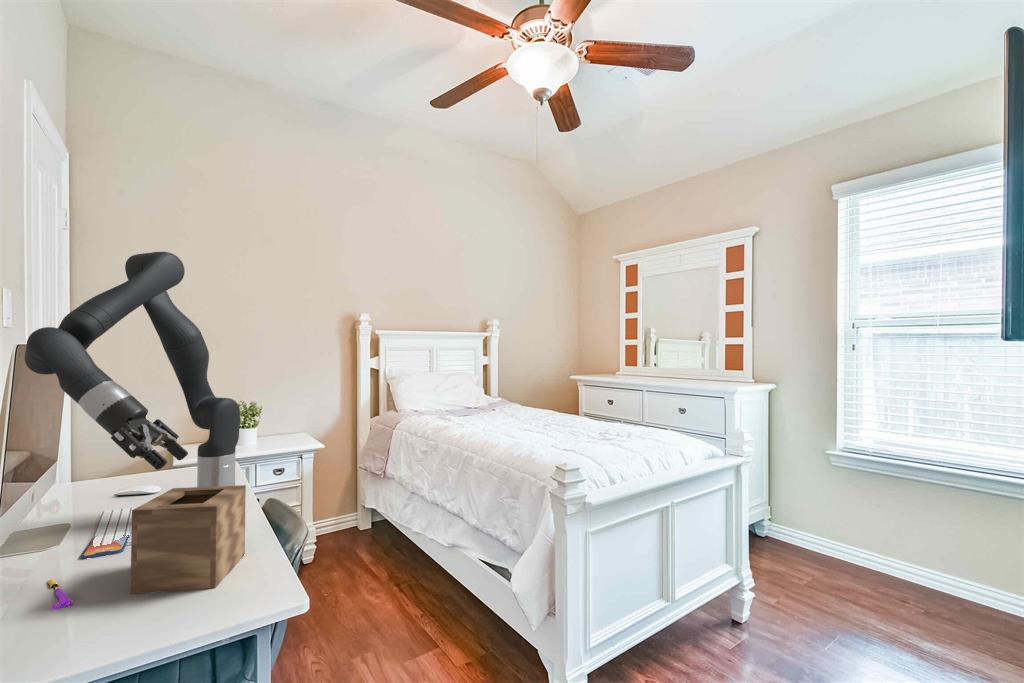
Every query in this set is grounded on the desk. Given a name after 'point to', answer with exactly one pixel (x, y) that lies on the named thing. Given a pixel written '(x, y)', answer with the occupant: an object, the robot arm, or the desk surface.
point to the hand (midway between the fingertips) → (174, 461)
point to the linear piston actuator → (59, 596)
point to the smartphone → (105, 548)
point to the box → (187, 538)
